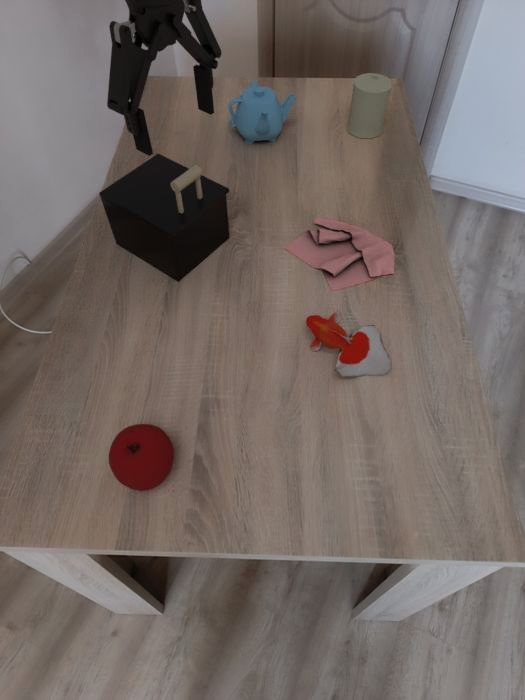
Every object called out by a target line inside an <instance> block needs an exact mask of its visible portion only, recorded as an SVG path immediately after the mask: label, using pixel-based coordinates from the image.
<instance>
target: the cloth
mask: <svg viewBox="0 0 525 700" xmlns="http://www.w3.org/2000/svg"><path fill="white" fill-rule="evenodd" d="M315 224H316V231H314V230H311V229H307V230H306V231H305V232H304V233H302V235H300V236H299V237H297V238H295V239H293V241H291V242H290V243H289V244H287V245H285V246H284V247H283V248H284V250H286V251H287V252H289V253H291V254H292V255H293V256H295V257H296V258H298V259H300V260H301V261H302V262H305V263H306V264H307V265H308V266H310V267H312V268H313V269H321V272H322V273H323V275H324V277H325V281H326V282H327V284H328V286H329V287H330V291H332V292H335V291H339V290H343V289H347V288H350V287H354V286H357V285H361V284H364V283H367V282H370V281H375V280H377V279H378V278H379V277H380V276H384V275H385V276H388V275H395V274H396V273H395V270H396V269H395V268H396V255H395V250H394V245H393V244H392V243H391V242H390V241H388V240H384V239H383V238H381V237H380V236H377V235H375V234H374V233H372V232H370V231H369V230H367V229H365V228H362V227H360V226H358V225H354V224H349V223H347V222H344V221H337V220H335V219H331V218H323V217H315V218H314V220H313V225H315Z"/></svg>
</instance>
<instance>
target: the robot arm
mask: <svg viewBox="0 0 525 700" xmlns="http://www.w3.org/2000/svg"><path fill="white" fill-rule="evenodd" d="M124 1H125V3H126V6H127V8H128V20H127V21H123V22H117V21H115V20H111V21H110V23H109V26H108V27H109V33H110V39H111V51H110V65H109V75H108V76H109V78H108V89H107V100H106V101H107V103H106V106H107V108H108V109H109V110H110V111H113V112H115V113H117V114H119V115H121V116H123V118H124V122H125V125H126V130H127V132H128V133H130V134H132V136H133V141H134V145H135V149H136V151H139V152H140V153H142V154H145V155H146V156H148V157H150V156H152V155H154V150H153V147H152V146H153V145H152V142H151V137H150V133H149V129H148V125H147V120H146V115H145V110H144V109H142V108H141V107H140V105H141V101H142V97H143V94H144V90H145V88H146V87H145V86H146V84H147V80H148V78H149V74H150V71H151V70H150V69H151V66H152V63H153V62H154V61H155V60H156V59H157V56H158V52H159V53H160V52H163V51H164V50H165V49H166V48H167V47H169V46H173V45H176V44H177V43H178V44H179V45H180V46H181V47H182V48H183V49H184V50H185V51H186V52H187V53H188V54H189V55H190V57H192V58H193V60H195V61H196V63H198V64H195V65H193V66H192V69H193V76H194V85H195V86H194V87H195V93H196V100H197V109H198V110H199V111H201V112H204V113H206V114H208V115H210V116H211V115H213V114H214V113H215V105H214V96H213V88H214V85H215V83H214V73H213V72H214V71H213V70H217V68H218V66H219V62H218V60H217V59H220V58H221V57H222V53H223V52H222V49H221V47H220V44H219V43H218V40H217V38H216V36H215V34H214V32H213V29H212V27H211V24H210V22H209V21H208V17H207V16H206V14H205V11H204V9H203V4H202V0H124ZM184 15H185V16H186V19H187V20H188V22H189V25H190V26H191V28H192V30H193V32H194V34H195V37H194V36H193V34H192V31H191V30H190V29H189V28H188V26H187V25H186V24H185V23H184V22H183V19H184ZM196 38H197V39H196ZM143 45H144V46H145V48H147V49H145V48H143Z"/></svg>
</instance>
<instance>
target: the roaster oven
mask: <svg viewBox="0 0 525 700" xmlns="http://www.w3.org/2000/svg"><path fill="white" fill-rule="evenodd" d="M100 201H101V202H102V206H103V209H104V211H105V215H106V218H107V220H108V221H107V222H108V223H109V226H110V229H111V232H112V235H113V239H114V241H115V244H116V245H117V246H119V247H121V248H123V249H124V250H125V251H127V252H129V253H130V254H132V255H134V256H135V257H137V258H139V259H140V260H142V261H143V262H145V263H147V264H148V265H150V266H151V267H153V268H155V269H157V270H158V271H160V272H161V273H163V274H165V275H166V276H168V277H169V278H170V279H172V280H174V281H176V282H178V283H180V282H181V281H182V280H183V279H184V278H185V277H186V276H187V275H189V274H190V273H191V272H192V271H194V269H196V268H197V267H198V266H199V265H200V264H201V263H202V262H204V261H205V260H206V259H207V258H208V257H210V256H211V255H212V254H213V253H214V252H215V251H217V249H219V248H220V247H221V246H222V245H223V244H225V243H226V242H228V240H229V239H230V225H229V214H228V212H229V211H228V201H227V194H226V195H225V196H223V197H222V198H221V199H220V200H218V201H217V202H216V203H215V204H213V205H212V206H211V207H210V208H208V209H207V210H206V211H204V212H203V213H202V214H201V215H199V216H198V217H197V218H196V219H194V220H193V221H192V222H191V223H189V224H188V225H187V226H186V227H184V228H183V229H182V230H181V231H179V232H178V233H177V234H176V235H174V236H173V237H170V236H168V235H167V234H165V233H163V232H161V231H160V230H158V229H156V228H154V227H153V226H151V225H149V224H147V223H146V222H144V221H142V220H141V219H139V218H137V217H135V216H134V215H132V214H130V213H128V212H127V211H125V210H123V209H121V208H120V207H118V206H116V205H114V204H113V203H111V202H109V201H108V200H106V199H104V198H102V197H101V196H100Z"/></svg>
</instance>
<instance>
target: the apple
mask: <svg viewBox="0 0 525 700" xmlns="http://www.w3.org/2000/svg"><path fill="white" fill-rule="evenodd" d="M174 460H175V448H174V444H173V443H172V440H171V438H170V436H169V435H168V434H167V433H166V432H165V431H164V430H163V429H162V428H161V427H159V426H156V425H154V424H149V423H138V424H133V425H129V426H126V427H125V428H123V429H122V430H120V431H119V432H118V434H116V435H115V438H113V441H112V442H111V444H110V448H109V453H108V464H109V467H110V468H109V469H110V471H111V472H112V474H113V475H114V476H113V477H115V479H116V480H117V482H119V483H120V484H121V485H122V486H124V487H127V489H128V488H129V489H130V490H134V491H138V492H145V491H149V490H153V489H155V488H157V487H158V486H160V485H161V484H162V483H163V482H164V481H165V480H166V479H167V478H168V476H169V474H170V473H171V470H172V467H173V465H174Z"/></svg>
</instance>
